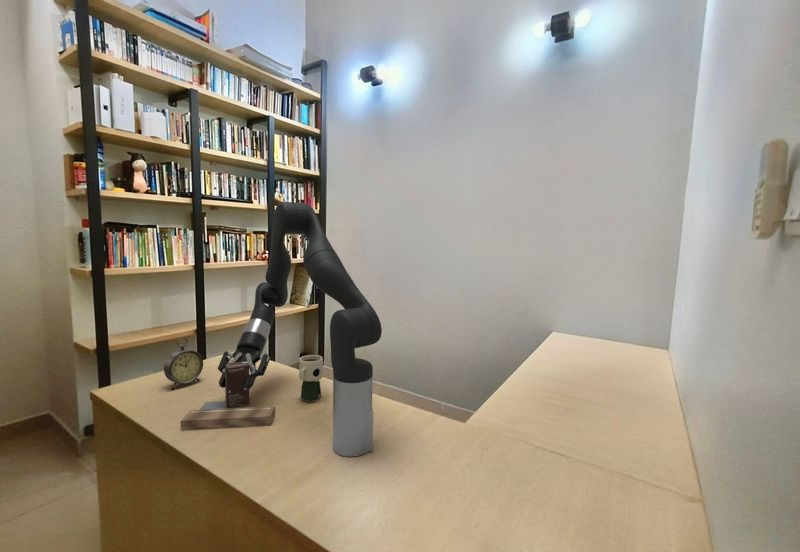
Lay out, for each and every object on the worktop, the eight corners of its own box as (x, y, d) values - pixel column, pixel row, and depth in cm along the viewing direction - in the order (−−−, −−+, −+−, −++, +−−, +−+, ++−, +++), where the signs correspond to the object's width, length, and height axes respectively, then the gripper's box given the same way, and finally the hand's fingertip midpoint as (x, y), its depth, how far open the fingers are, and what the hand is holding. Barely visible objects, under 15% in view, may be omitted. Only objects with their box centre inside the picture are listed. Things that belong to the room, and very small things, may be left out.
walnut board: (275, 414, 100) (275, 405, 100) (271, 425, 95) (270, 415, 94) (190, 419, 97) (190, 409, 97) (180, 430, 91) (180, 420, 91)
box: (227, 410, 100) (226, 368, 99) (225, 403, 104) (224, 363, 102) (250, 405, 103) (249, 364, 102) (247, 399, 107) (246, 359, 106)
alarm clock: (170, 392, 114) (169, 342, 113) (162, 388, 117) (160, 339, 116) (204, 381, 123) (203, 335, 122) (195, 378, 126) (194, 333, 125)
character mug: (312, 408, 105) (312, 365, 104) (290, 404, 107) (290, 362, 106) (329, 393, 115) (329, 354, 114) (310, 390, 117) (310, 352, 116)
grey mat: (237, 402, 108) (237, 400, 108) (228, 416, 99) (228, 414, 99) (205, 403, 106) (205, 402, 106) (193, 418, 98) (193, 416, 97)
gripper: (228, 329, 110) (204, 380, 99) (272, 331, 108) (253, 383, 98) (237, 341, 115) (216, 391, 105) (280, 343, 114) (263, 394, 103)
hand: (234, 387), depth 101 cm, fingers closed on box, 7 cm apart
